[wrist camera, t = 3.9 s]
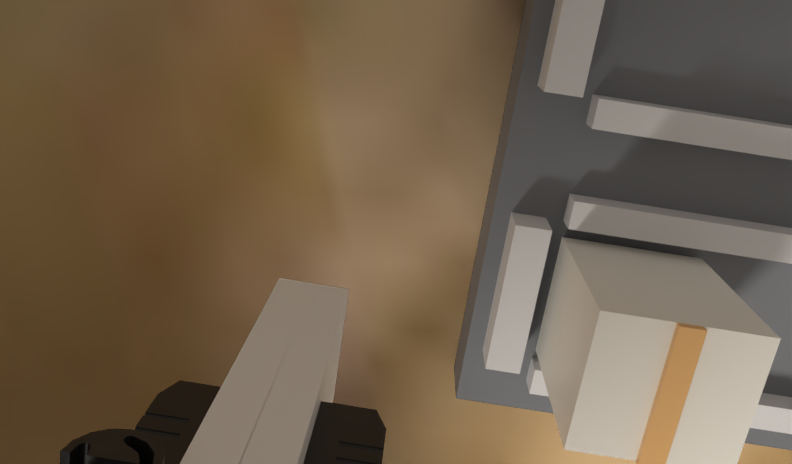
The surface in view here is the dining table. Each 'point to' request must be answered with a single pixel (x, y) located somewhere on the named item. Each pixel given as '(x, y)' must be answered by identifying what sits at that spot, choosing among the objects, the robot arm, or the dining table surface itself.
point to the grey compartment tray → (637, 173)
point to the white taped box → (650, 356)
